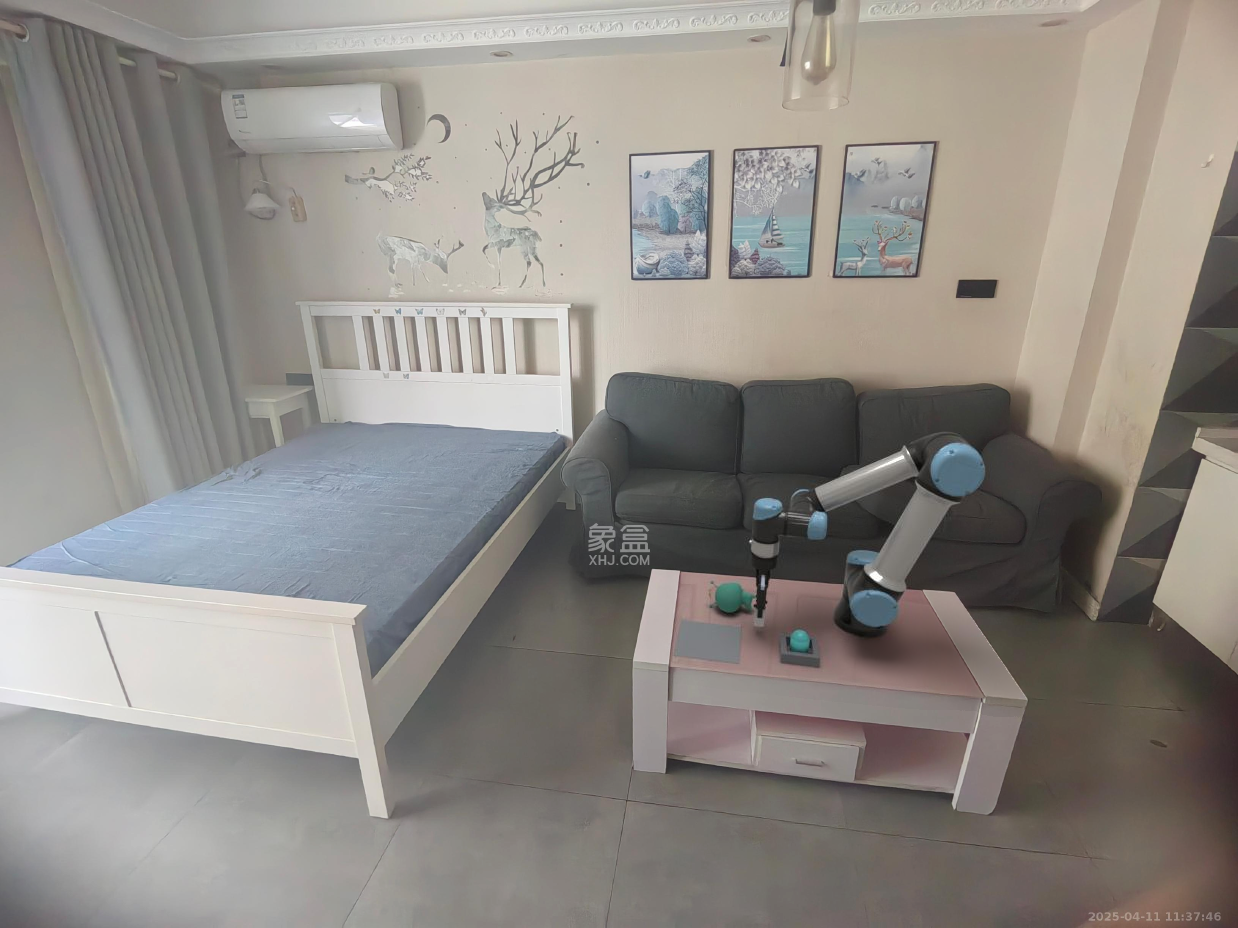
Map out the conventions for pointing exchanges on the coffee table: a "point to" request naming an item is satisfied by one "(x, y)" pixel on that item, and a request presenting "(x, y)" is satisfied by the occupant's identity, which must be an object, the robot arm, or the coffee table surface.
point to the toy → (731, 597)
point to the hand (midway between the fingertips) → (758, 624)
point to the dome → (799, 642)
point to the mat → (708, 641)
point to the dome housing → (797, 657)
